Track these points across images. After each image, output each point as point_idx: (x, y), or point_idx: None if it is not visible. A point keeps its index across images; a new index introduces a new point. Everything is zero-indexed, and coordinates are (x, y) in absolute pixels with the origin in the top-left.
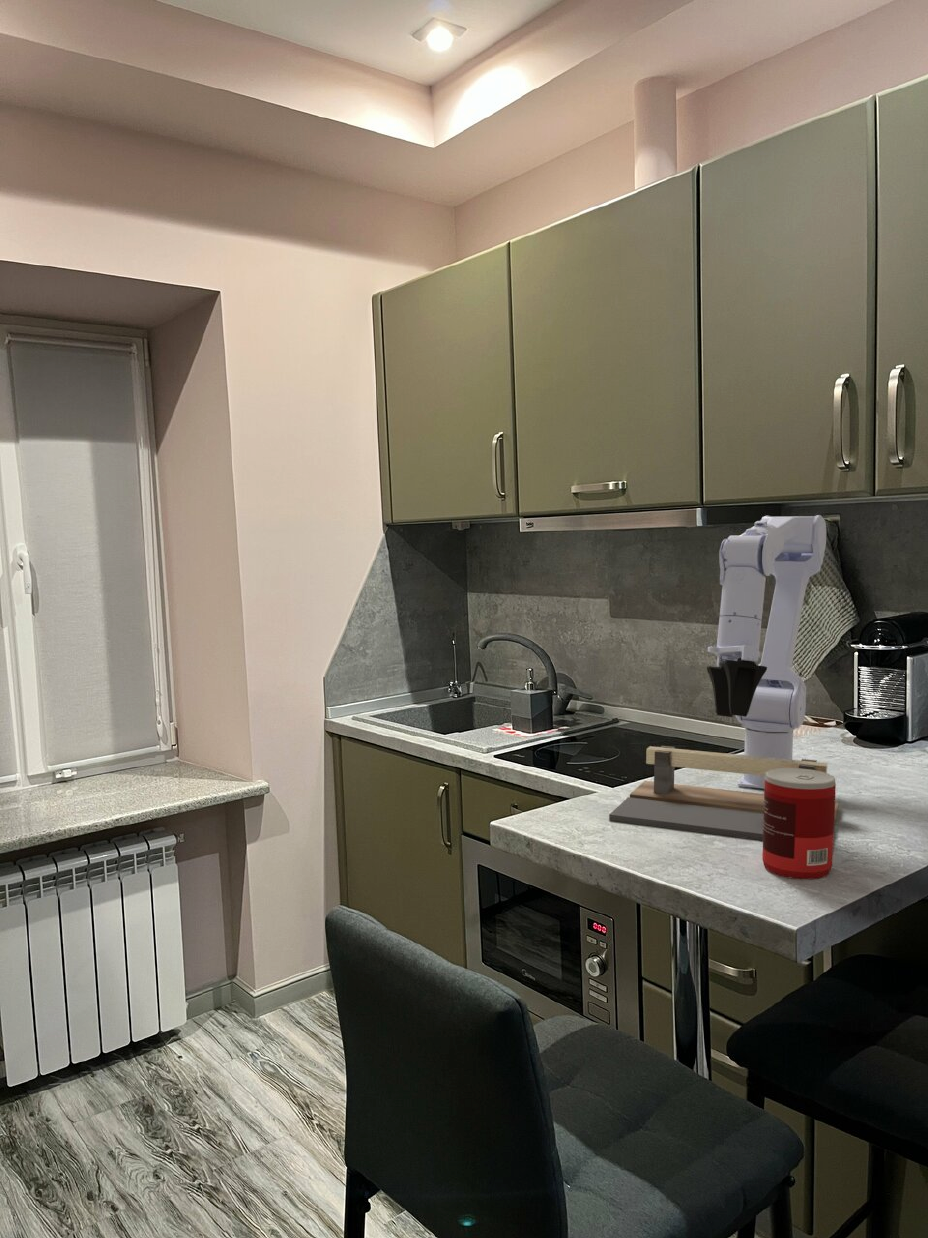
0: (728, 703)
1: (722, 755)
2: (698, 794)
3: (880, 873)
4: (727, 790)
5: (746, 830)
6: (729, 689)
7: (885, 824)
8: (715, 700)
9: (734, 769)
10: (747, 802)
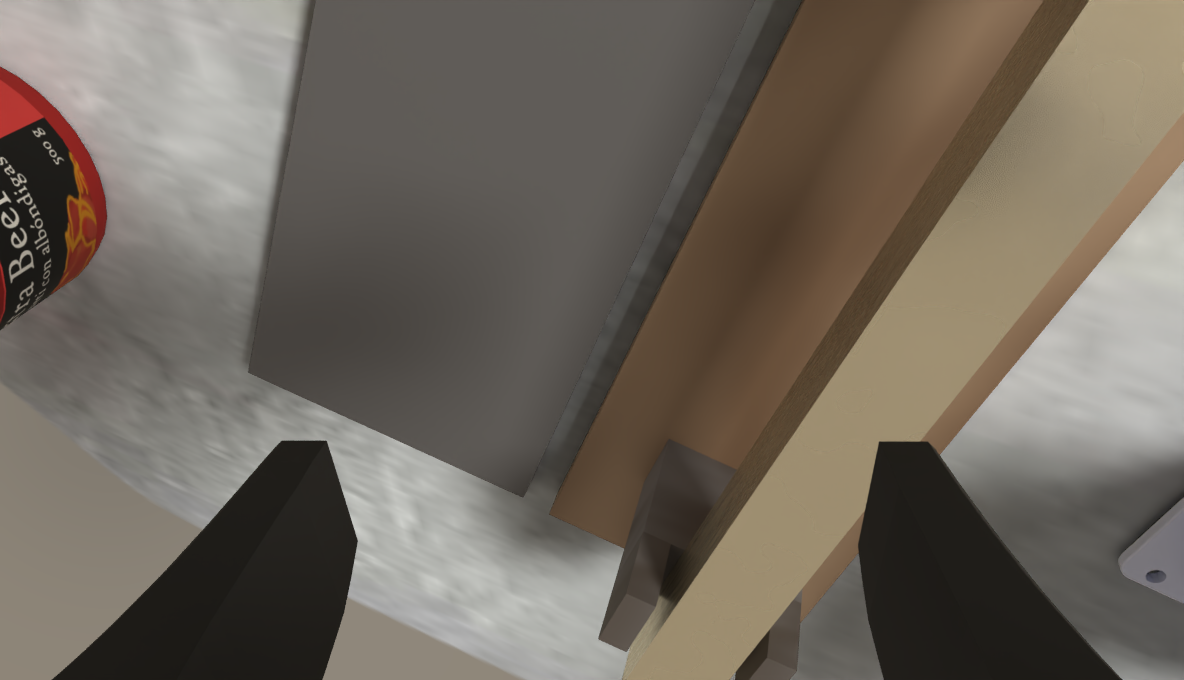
0: (902, 636)
1: (931, 291)
2: (1017, 39)
3: (71, 397)
4: (1094, 252)
5: (317, 112)
6: (145, 635)
7: (598, 642)
8: (955, 551)
9: (849, 306)
10: (800, 273)
